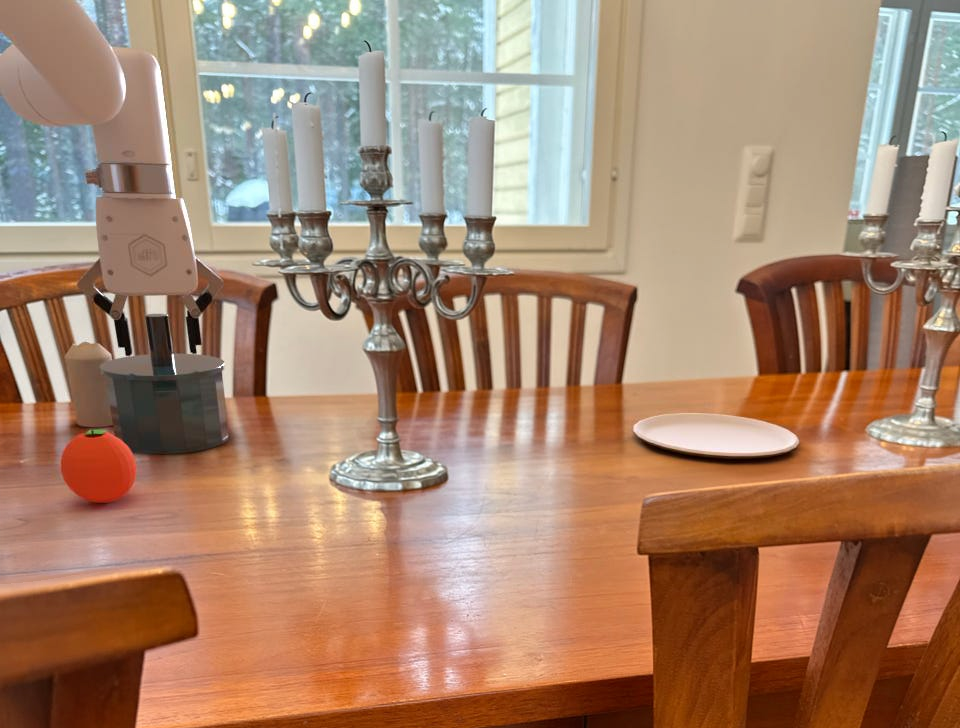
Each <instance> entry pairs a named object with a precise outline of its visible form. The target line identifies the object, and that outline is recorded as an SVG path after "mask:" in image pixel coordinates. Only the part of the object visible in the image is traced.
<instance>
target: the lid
mask: <svg viewBox="0 0 960 728" xmlns="http://www.w3.org/2000/svg"><path fill="white" fill-rule="evenodd" d="M144 322H145V328H146V334H147V342H148V350H149V354H138V355H130V356H122V357H118V358H112V360H110V361H107V362H104V363H102V364H101V365H100V366H99V369H100V373H101V374H102V375H104V376H107V377H110V378H115V379H121V380H132V381H171V380H183V379H192V378H199V377H204V376H209V375H213V374H216V373H219V372H221V371H222V372H223V371H224V370H225V369H226V363H225V361H224V360H223V359H222V358H219V357H216V356H212V355H207V354H206V355H205V354H192V353H174V350H173V340H172V334H171V326H170V319H169V314H166V313H148V314H144Z"/></svg>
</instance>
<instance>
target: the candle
mask: <svg viewBox="0 0 960 728" xmlns="http://www.w3.org/2000/svg"><path fill="white" fill-rule="evenodd" d="M63 357H64V362H65V367H66V372H67V378H68V384H69V389H70V394H71V395H70V396H71V400H72V405H73V410H74V415H75V420H76V424H77V425H78V426H79V427H86V428H102V427H103V428H104V427H111V426H113V423H112V417H111V411H110V405H109V399H108V393H107V387H106V381H105V376H104V375H102V374H101V373H100V369H99V366H100V365H101V364H102V363H104V362H107V361H110V360H113V357H112V353H111V352H109V351H108V350H107V349H106V348H105V347H103V346H102V345H101V344H100V343H99V342H94V343H91V342H88V341H83V342H81V343H78V344H76V343H74V342H73V343H72V344H71V346H70V348H69V349H68V351H67V352H66V353H65V355H64V356H63Z"/></svg>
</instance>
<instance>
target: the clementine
mask: <svg viewBox="0 0 960 728" xmlns="http://www.w3.org/2000/svg"><path fill="white" fill-rule="evenodd" d="M137 472H138V471H137V462H136V458H135V456H134V452H131V450H130V448H129V447H128V446H127V445H126V444H125V443H124V442H123V441H122V440H121V439H119V438H117V437H115V435H114V434H111V433H109V432H106V431H104V429H90V430H87V431H86V432H83V433H80V434H78V435H76V436H75V437H74V438H73V439H71V440H70V441H69V442H67V444H66V446H65V447H64V449H63V450H62V453H61V457H60V473H61V475H62V478H63V479H62V480H63V481H64V482H65V484H66V486H67V487H68V488H69V490H71V492H73V493H74V494H76V496H78V497H79V498H81V499H83V500H85V501H87V502H91V503H99V504H107V503H111V502H114V501H117V500H120V499H121V498H123V497H124V496H126V494H127V493H129V491H130V490H131V489H132V487H133V486H134V484H135V482H136V478H137Z"/></svg>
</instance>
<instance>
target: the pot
mask: <svg viewBox="0 0 960 728" xmlns="http://www.w3.org/2000/svg"><path fill="white" fill-rule="evenodd" d="M105 381H106V387H107V393H108V399H109V405H110V411H111V417H112V423H113V425H112V428H113V435H114V436H115V437H117V438H119V439H121V440H122V441H123V442H124V443H125V444H126V445H127V446H128V447H129V448H130V450H131V452H132V453H136V454H145V455H177V454H187V453H195V452H200V451H206V450H209V449H213V448H217V447H219V446H221V445H223V444H225V443H226V442H227V441H228V440H229V438H230V437H229V435H230V433H229V424H228V423H229V422H228V415H227V405H226V396H225V387H224V377H223V371H221V372H219V373H216V374H213V375H209V376H204V377H199V378H192V379H183V380H171V381H132V380H121V379H115V378H110V377H107V376H105Z"/></svg>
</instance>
